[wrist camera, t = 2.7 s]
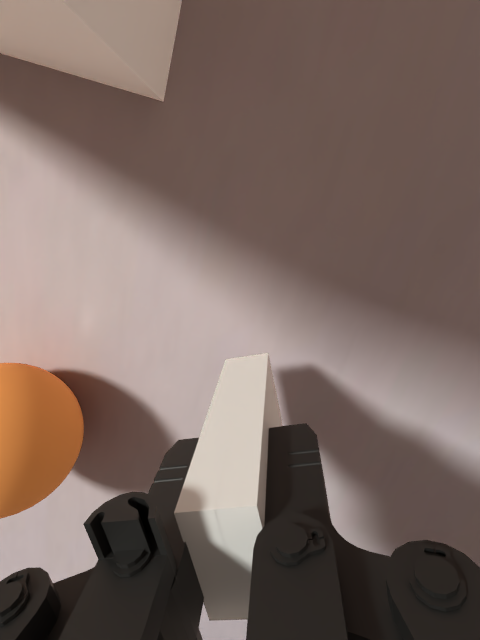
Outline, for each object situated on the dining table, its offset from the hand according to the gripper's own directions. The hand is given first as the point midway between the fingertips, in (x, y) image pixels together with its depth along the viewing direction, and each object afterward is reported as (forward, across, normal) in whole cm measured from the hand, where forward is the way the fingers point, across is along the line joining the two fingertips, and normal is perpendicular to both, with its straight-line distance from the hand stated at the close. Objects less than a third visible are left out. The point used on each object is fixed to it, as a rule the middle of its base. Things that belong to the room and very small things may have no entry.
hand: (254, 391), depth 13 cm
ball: (-1, +10, 0) cm, 10 cm away
